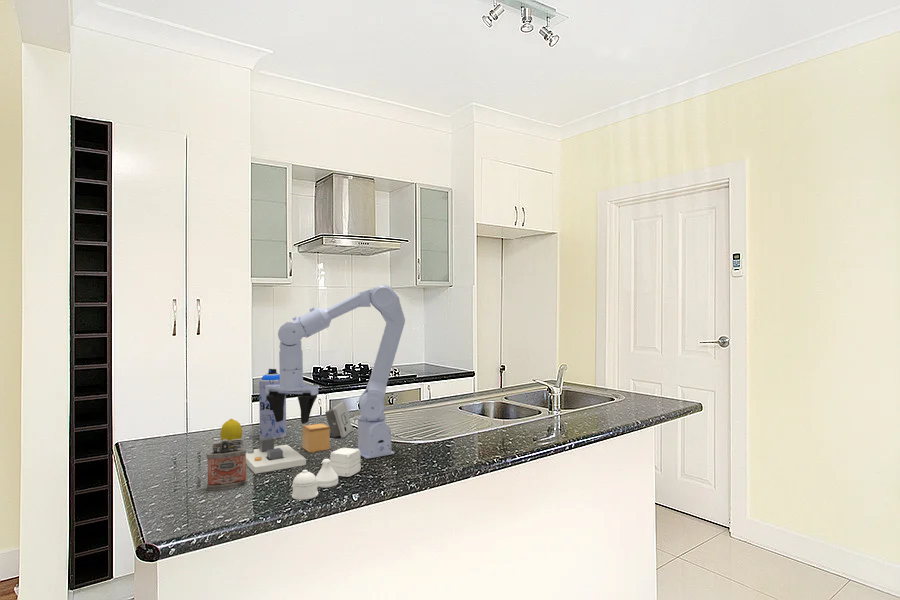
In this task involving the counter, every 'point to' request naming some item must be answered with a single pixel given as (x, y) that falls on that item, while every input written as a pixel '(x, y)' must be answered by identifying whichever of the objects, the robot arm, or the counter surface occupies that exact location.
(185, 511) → the counter surface
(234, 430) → the lemon
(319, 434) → the small cardboard box
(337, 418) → the electrical switch
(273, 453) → the button
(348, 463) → the container set
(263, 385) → the aerosol can
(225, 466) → the lighter
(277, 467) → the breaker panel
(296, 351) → the robot arm
